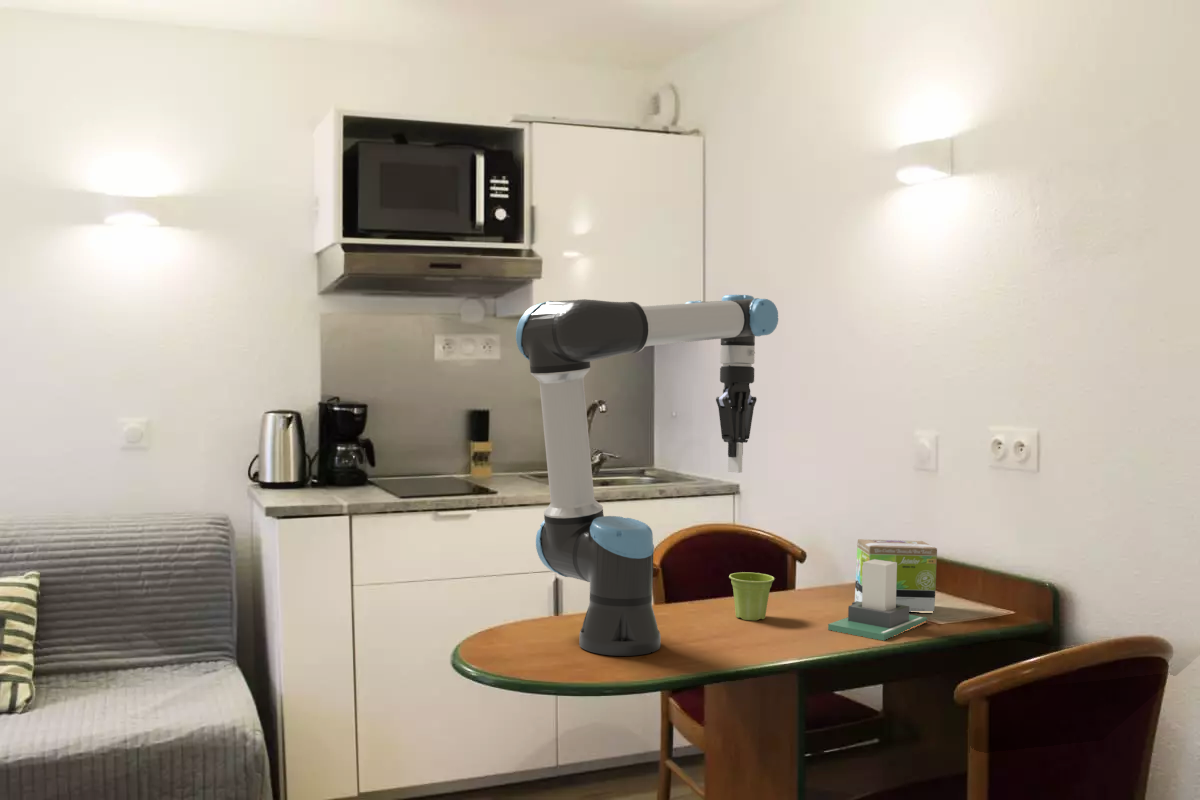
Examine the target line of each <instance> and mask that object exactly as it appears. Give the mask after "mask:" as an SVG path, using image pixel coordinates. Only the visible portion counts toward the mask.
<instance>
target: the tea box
mask: <svg viewBox="0 0 1200 800" xmlns="http://www.w3.org/2000/svg"><path fill="white" fill-rule="evenodd" d="M856 545H857V548H856V567H855V588H854V602H856V601H858V602H862V588H863V585H862V566H863V562H866V561H870V560H873V559H876V560H883V561H890V562H897V583H896V604H899V605H905V606H909V612H911V611H934V612H935V607H936V606H935V604H936V583H937V580H936V579H937V562H938V561H937V560H938V548H936V547H935V546H933V545H931V544H929V543H927V542H925V541H923V540H903V539H902V540H899V539H898V540H897V539H867V538H861V539H860V538H859V539H857V544H856Z"/></svg>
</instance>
